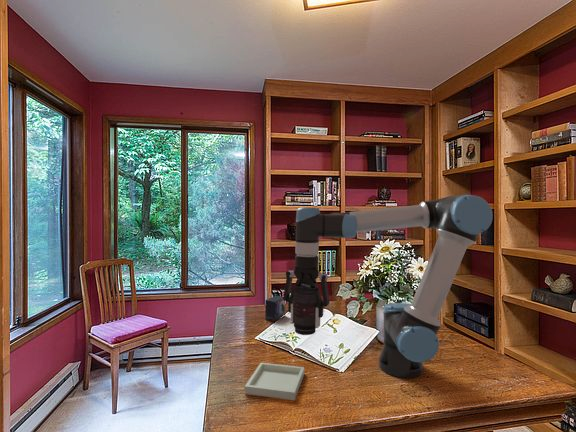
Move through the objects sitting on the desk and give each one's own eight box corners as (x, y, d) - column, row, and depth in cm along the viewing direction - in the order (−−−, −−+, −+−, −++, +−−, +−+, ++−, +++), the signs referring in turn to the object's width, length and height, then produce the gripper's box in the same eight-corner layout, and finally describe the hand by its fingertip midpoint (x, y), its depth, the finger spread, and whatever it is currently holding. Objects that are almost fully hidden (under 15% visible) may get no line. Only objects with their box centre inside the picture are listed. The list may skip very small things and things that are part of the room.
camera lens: (316, 337, 102) (317, 289, 101) (290, 334, 103) (291, 287, 103) (319, 328, 109) (320, 283, 109) (295, 325, 111) (296, 282, 111)
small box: (275, 322, 166) (275, 301, 166) (264, 319, 170) (264, 299, 169) (286, 316, 175) (285, 296, 175) (275, 314, 179) (275, 295, 178)
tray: (304, 374, 114) (304, 367, 114) (294, 400, 98) (294, 392, 98) (260, 369, 118) (260, 362, 118) (244, 393, 102) (244, 386, 102)
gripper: (341, 256, 105) (339, 326, 106) (282, 251, 113) (281, 316, 114) (334, 259, 98) (333, 334, 99) (273, 254, 106) (271, 323, 107)
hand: (305, 324), depth 106 cm, fingers closed on camera lens, 8 cm apart
